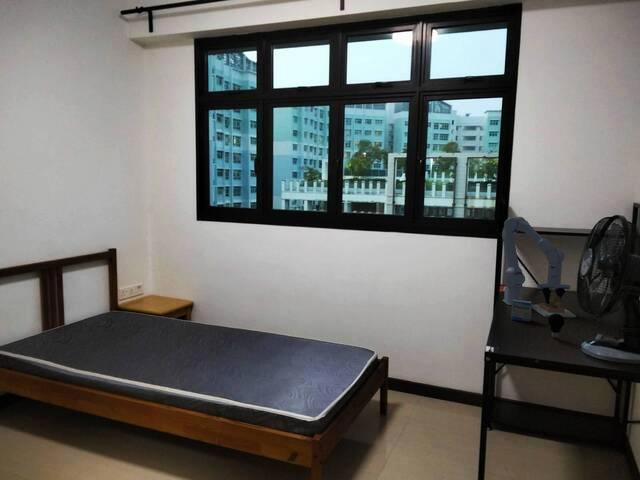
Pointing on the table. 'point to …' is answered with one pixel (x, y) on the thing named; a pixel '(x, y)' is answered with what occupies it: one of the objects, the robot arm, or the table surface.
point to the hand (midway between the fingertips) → (552, 303)
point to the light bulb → (556, 324)
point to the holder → (551, 310)
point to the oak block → (553, 301)
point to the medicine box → (521, 310)
